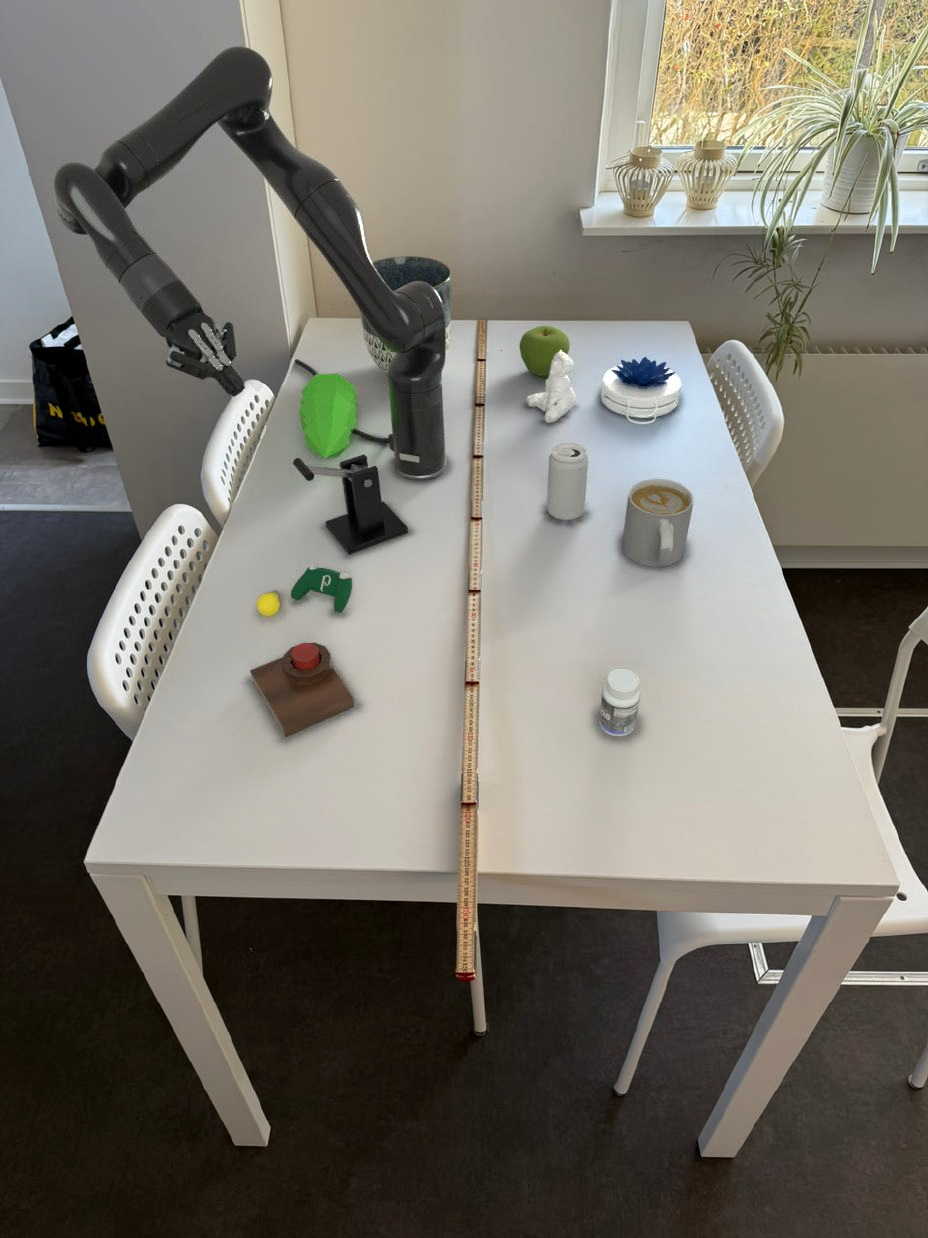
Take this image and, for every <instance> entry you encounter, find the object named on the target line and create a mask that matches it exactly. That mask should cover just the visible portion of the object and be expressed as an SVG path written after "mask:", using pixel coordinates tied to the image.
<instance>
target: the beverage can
mask: <svg viewBox="0 0 928 1238" xmlns="http://www.w3.org/2000/svg"><path fill="white" fill-rule="evenodd" d="M588 467H589V457H588V455H587V449H586V448H585V447H584V446H583V445H580V444H579V443H578V444H577V443H572V442H564V443H559V444H557V445H555V446H554V447H552V449H551V452H550V455H549V457H548V470H547V471H548V472H547V496H546V511H547V513H548V514H549V515H550V516H551V517H553V518H554V519H557V520H559V521H573V520H575V519H577V518H579V517H581V516H582V515H583V514H584V512H585V508H586V507H585V506H586V494H587V482H588V481H587V480H588V479H587V478H588Z"/></svg>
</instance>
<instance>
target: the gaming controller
mask: <svg viewBox="0 0 928 1238" xmlns="http://www.w3.org/2000/svg"><path fill="white" fill-rule="evenodd" d="M290 591H291V592H290V597H291V599H293V600H296V601H299V600H302V599H303V598H304V597H305V596H306V595H307V594H308V593H310V592H311V591H312V592H313V591H314V592H316V593H320V594H323V595H326V596H329V597H333V598H334V599H333V609H334V612H335V613H338V614H341V613H342V612H343V611H344V610H345V608H346V606H347V604H348V602H349V600H350V598H351V595H352V591H353V578H352V576H351V575H349V574H348V573H343V572H339V571H337V570H333V569H330V568H326V567H320V566H319V565H317V564H311V563H310V564H309V565H308V567H307V568H306V570H305V571H304V572H303V574H302V575H301V576H299V578H298V579H297V581H295V584H294V585H293V586H292V589H291V590H290Z"/></svg>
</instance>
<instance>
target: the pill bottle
mask: <svg viewBox="0 0 928 1238" xmlns="http://www.w3.org/2000/svg"><path fill="white" fill-rule="evenodd" d="M639 687H640V678H639V676H638V675H637V674H636V673H635V672H634V671H632V670H630V669H627V668H616V669H613V670H611V671H610V672H609V673H608V675H607V678H606V681H605V684H604V686H603V689H602V692H601V699H600V700H601V701H600V709H599V716H598V723H599V726H600V728H601V729H602V731H603V732H605V733H606V734H608V735H610V736H613V737H614V736H615V737H624V736H628V735H629V734H631V733H632V732H633V730H634V729H635V727H636V721H637V716H638V711H639V706H640V705H639V704H640V699H641V692H640V688H639Z"/></svg>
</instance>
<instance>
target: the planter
mask: <svg viewBox="0 0 928 1238" xmlns="http://www.w3.org/2000/svg"><path fill="white" fill-rule="evenodd" d="M372 263H373V265H374V266H375V268H376V270H377V271H378V273H379V274H380V276H381V277H382V279H383V280H384V281H385V283H386V284H387V285H388V287H389V288H390V289H391V290H392V291H395V290H396V289H398V288H400V287H402V286H404V285H406V284H408V283H411V282H414V281H422V282H426V283H428V284H429V285H431V286H432V287H433V288H434V289H435V290H436V291H437V293H438V294H439V296H440V298H441V300H442V303H443V307H444V311H445V319H446V354H447V353H448V349H449V346H450V341H451V332H452V331H451V330H452V329H451V328H452V286H453V285H452V284H453V283H452V282H453V281H452V279H453V278H452V276H453V275H452V270H451V268H450V266H448V264H447V263H444V262H443V261H441V260H438V259H435V258H432V257H431V258H430V257H425V256H416V255H404V256H403V255H400V256H392V257H386V258H381V259H377V260H373V261H372ZM358 311H359V317H360V322H361V327H362V333H363V339H364V342H365V346H366V350H367V351H368V354H369V356H370V358H371V360H372V362H373V363H374V364H375V365H376V366H377V367H378V368H379V369H380V370H381V371H382V372H384V373H385V374H387V370H388V366H389V364H390V362H391V361H392V359H393V358H394V357H395V355H396V352H393V351H391V350H390V349H388V348H387V347H386V346H385V345H384V344H383V343H382V342H381V341H380V340H379V339H378V338H377V336H376V335H375V333H374V332H373V331H372V329H371V327H370V326H369V324H368V323H367V321H366V319H365V318H364V316H363V315H362V313H361V311H360V310H359V309H358Z"/></svg>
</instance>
